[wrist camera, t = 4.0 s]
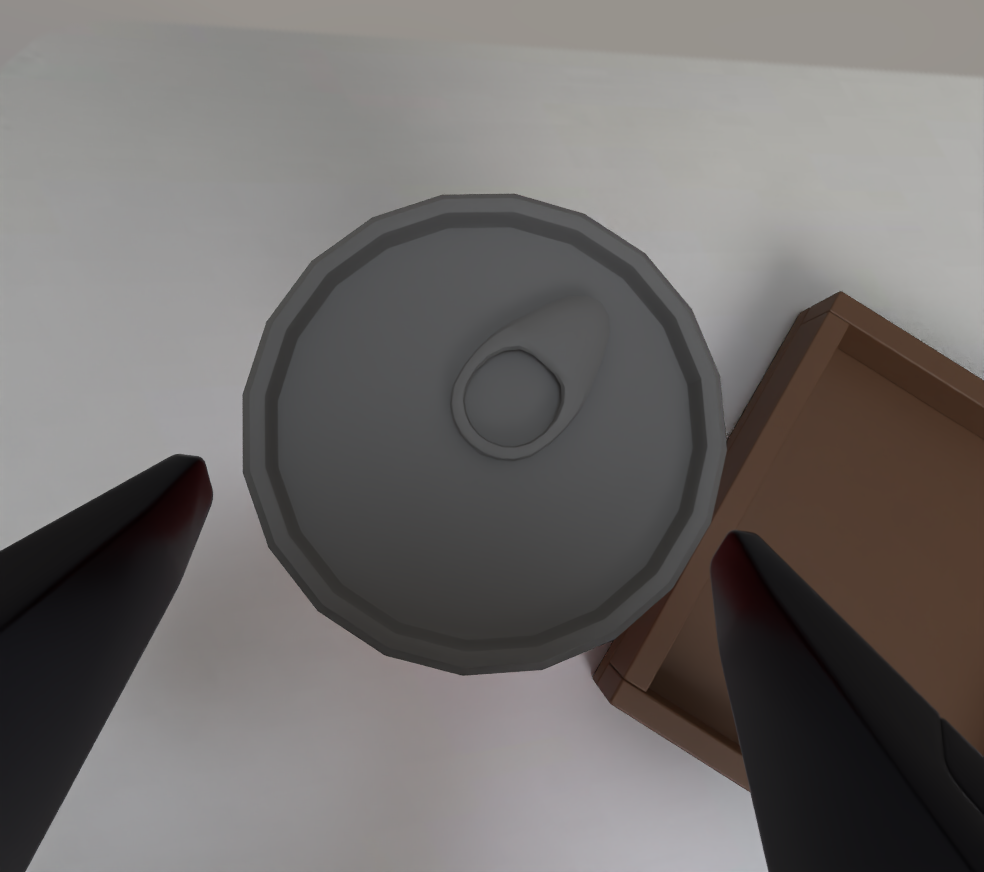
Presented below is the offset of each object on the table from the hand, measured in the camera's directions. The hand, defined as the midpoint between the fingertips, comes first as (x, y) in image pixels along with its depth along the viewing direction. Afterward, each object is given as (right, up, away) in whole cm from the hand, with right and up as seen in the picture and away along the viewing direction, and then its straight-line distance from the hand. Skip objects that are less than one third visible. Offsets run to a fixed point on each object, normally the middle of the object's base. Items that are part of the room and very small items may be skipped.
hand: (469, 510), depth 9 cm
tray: (+13, -4, +9) cm, 16 cm away
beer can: (0, 0, +9) cm, 9 cm away
